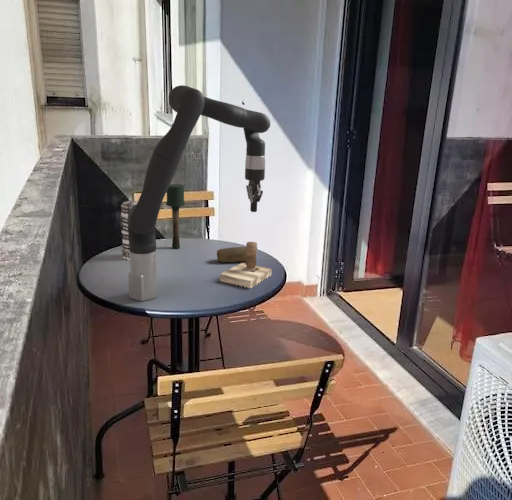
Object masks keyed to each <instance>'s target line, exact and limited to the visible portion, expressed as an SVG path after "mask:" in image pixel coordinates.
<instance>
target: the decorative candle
mask: <svg viewBox="0 0 512 500" xmlns="http://www.w3.org/2000/svg"><path fill="white" fill-rule="evenodd" d="M137 202H138V201H135V200H127V201H123V202H122V204H121V205H120V208H121V213H120V214H119V221H120V222H119V223H120V229H121V233H122V237H121V239H122V242H121V245H122V246H121V248H122V250H121V252H122V259H123V258H124V259H123V260H125V259H127V260H126V261H130V251H129V233H128V213H129V210H130V209H131V208H132V207H133V206H134V205H136V204H137Z"/></svg>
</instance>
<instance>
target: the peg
mask: <svg viewBox="0 0 512 500" xmlns="http://www.w3.org/2000/svg"><path fill="white" fill-rule="evenodd" d="M245 247H246V261H245V263H246V265H247V266H246V271H250V272H255V266H257V255H258V254H257V253H258V252H257V251H258V250H257V249H258V243H257V242H255V241H248V242H247V241H246V246H245Z"/></svg>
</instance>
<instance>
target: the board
mask: <svg viewBox="0 0 512 500" xmlns="http://www.w3.org/2000/svg"><path fill="white" fill-rule="evenodd" d="M246 266H247V265H246V262H239V264H237V265H234V266H233V267H230V268H229V269H227V270H224V271H223V272H221V273H220V274H219V282H222V283H227V284H231V285H234V284H235V286H238V285H239V287H242V286H244V287H243V288H246V287H247V288H246V289H250V288H251V289H252V288H254V287H256V286H257V285H259V284H261V283H262V282H264V281H265V280H267V279H268V277H269V276H270V277H272V268H269V267H263V266H259V265H256V266H255V272H250V271H246ZM270 277H269V278H270ZM266 278H267V279H266ZM264 279H265V280H264ZM263 280H264V281H263ZM261 281H262V282H261ZM260 282H261V283H260ZM258 283H259V284H258ZM255 285H256V286H255ZM253 286H254V287H253Z"/></svg>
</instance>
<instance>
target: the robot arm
mask: <svg viewBox="0 0 512 500" xmlns="http://www.w3.org/2000/svg"><path fill="white" fill-rule="evenodd" d="M167 99H168V105H169V106H170V108H171V109H172V110H173V111H174V112H175V113H176V116H175V118H174V120H173V123H172V125H171V127H170V129H169V130H168V131H167V132H166V134H164V136H163V137H161V139H160V140H159V141H158V142H157V144H156V145H155V147H154V149H153V151H152V154H151V156H150V159H149V161H148V165H147V168H146V172H145V176H144V182H143V187H142V191H141V193H140V195H139V198H138V200H137V201H136V202H137V204H136V205H134V206H133V207H132V208H131V209H130V210H129V213H128V233H129V251H130V260H129V269H130V270H129V272H128V273H127V274H128V275H127V278H128V293H129V297H128V298H130V299H132V300H136V301H139V302H145V301H150V300H153V299H155V298H157V297H158V272H157V271H158V269H157V267H158V266H157V265H158V263H157V240H156V239H157V238H156V237H157V236H156V225H157V221H158V217H159V214H160V211H161V210H160V209H161V207H162V205H163V200H164V198H165V196H166V195H167V190H168V188H169V186H170V184H171V183H172V181H173V179H174V177H175V175H176V172H177V169H178V166H180V161H181V158H182V156H183V154H184V151H185V149H186V146H187V144H188V141H189V140H190V136H191V135H192V132H193V131H194V129H195V127H196V125H197V122H198V121H199V119H200V117H201V116H202V117H206V118H210V119H211V120H214V121H217V122H220V123H222V124H225V125H229V126H232V127H236V128H243V133H244V138H245V139H244V140H245V142H246V150H245V151H246V153H245V154H246V155H245V162H244V164H245V165H244V167H245V168H244V179H245V180H247V181H248V184H247V185H246V186H245V188H246V193H247V198H248V200H249V202H250V207H249V209H250V210H249V211H250V212H251V213H256V212H258V203H260V202H261V198H262V196H263V195H264V194H263V193H264V192H263V190H261V189H262V185H261V182H262V181H264V180H265V176H266V175H265V174H266V159H265V158H266V155H265V154H266V143H265V141H264V140H263V139H261V137H260V134H263V133H266V132H268V131H269V129H270V128H271V120H270V118H269V116H268V115H266V114H265V113H263V112H260V111H256V110H255V111H254V110H249V109H246V108H244V107H242V106H238V105H235V104H231V103H228V102H223V101H222V100H221V101H220V100H218V99H217V100H216V99H212V98H209V97H206V96H204V94H203V93H202V92H201V91H200V90H199V89H196V88H194V87H191V86H189V85H183V84H181V85H176V86H174V87H173V88H172V89H171V90H170V92H169V94H168V98H167Z"/></svg>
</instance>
